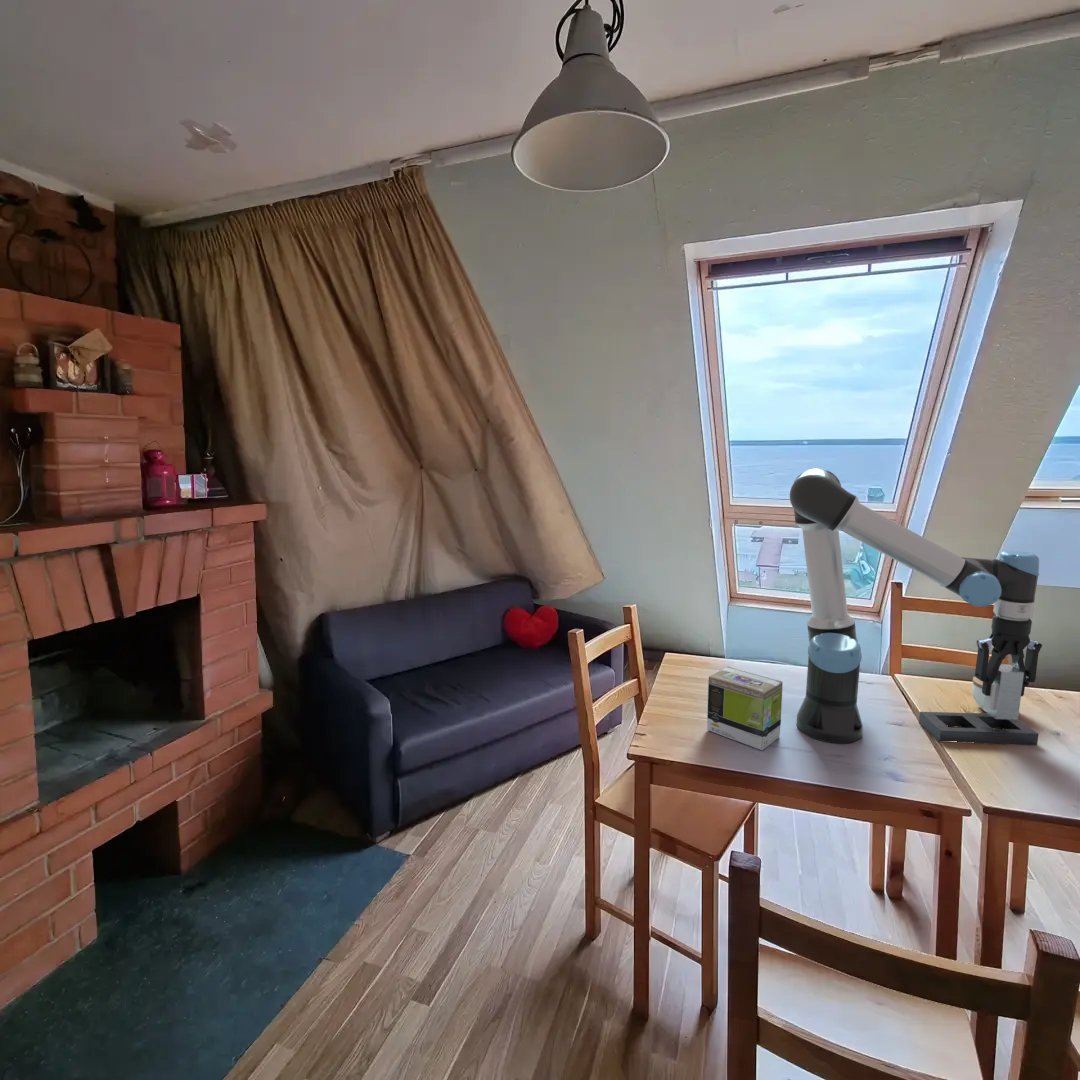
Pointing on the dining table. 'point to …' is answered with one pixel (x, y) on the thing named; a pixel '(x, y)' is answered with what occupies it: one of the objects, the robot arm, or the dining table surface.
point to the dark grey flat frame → (977, 728)
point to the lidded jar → (978, 692)
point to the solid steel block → (1007, 693)
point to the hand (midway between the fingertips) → (1000, 707)
